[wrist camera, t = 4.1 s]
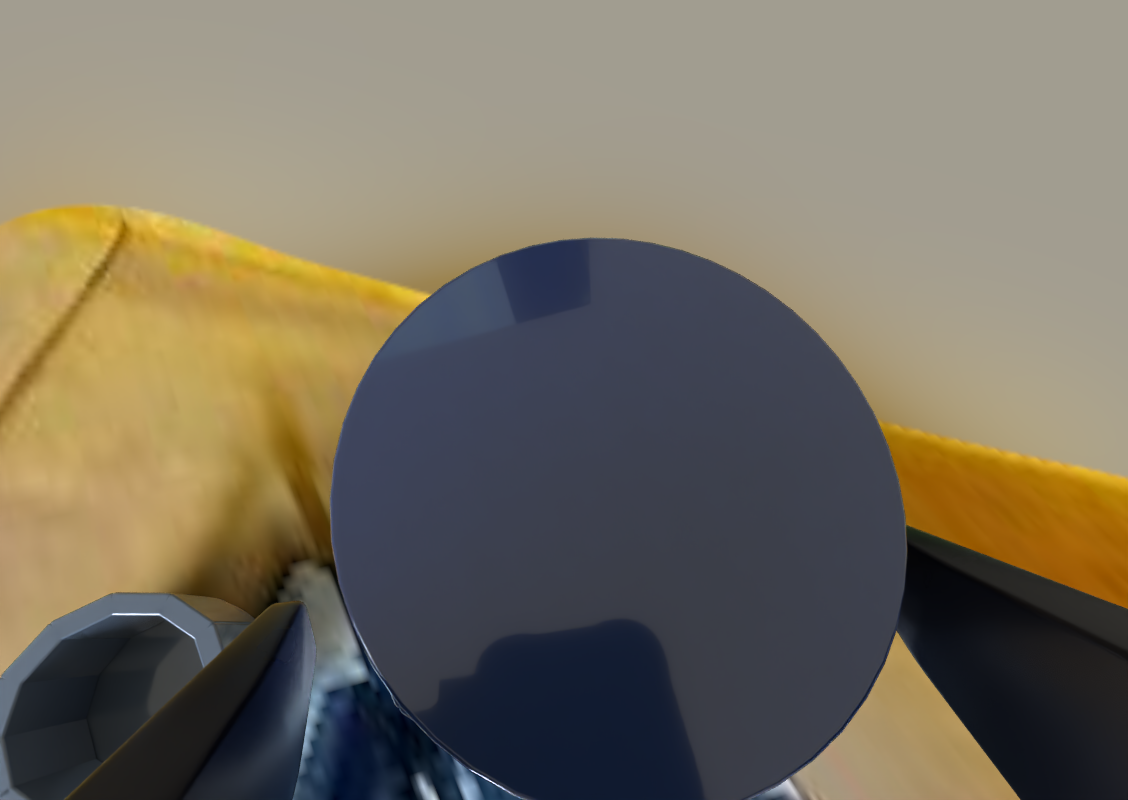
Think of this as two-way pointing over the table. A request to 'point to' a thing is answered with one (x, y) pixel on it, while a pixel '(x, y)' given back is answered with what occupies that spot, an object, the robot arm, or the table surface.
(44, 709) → the grey pot
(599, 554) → the blue grey cylinder
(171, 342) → the table surface
